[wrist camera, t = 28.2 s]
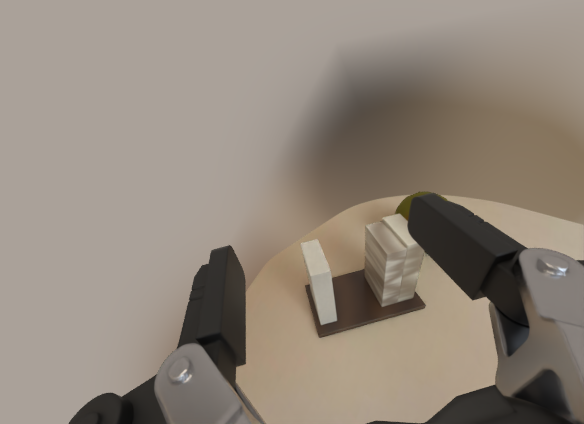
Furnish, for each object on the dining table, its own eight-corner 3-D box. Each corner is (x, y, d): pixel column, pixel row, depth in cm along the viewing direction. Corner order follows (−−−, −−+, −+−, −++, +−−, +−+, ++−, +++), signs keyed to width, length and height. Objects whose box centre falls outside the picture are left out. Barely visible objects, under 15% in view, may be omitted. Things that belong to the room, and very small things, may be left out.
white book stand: (319, 338, 33) (306, 284, 25) (305, 287, 40) (292, 234, 32) (425, 307, 33) (444, 246, 25) (392, 264, 41) (399, 205, 33)
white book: (320, 325, 33) (310, 276, 26) (311, 291, 38) (300, 243, 31) (337, 320, 33) (330, 270, 26) (325, 287, 38) (317, 238, 31)
